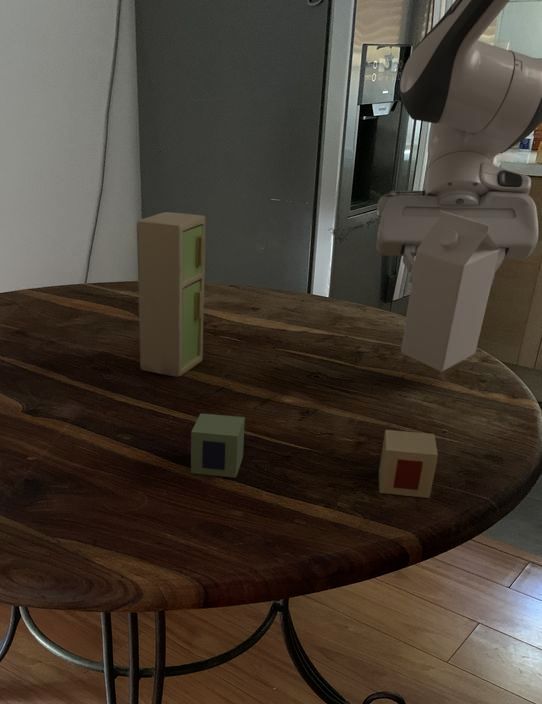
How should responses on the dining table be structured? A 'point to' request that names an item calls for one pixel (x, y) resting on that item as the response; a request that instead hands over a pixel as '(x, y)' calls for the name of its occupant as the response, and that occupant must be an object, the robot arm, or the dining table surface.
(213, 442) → the sage letter block
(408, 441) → the cream letter block
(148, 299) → the toy refrigerator
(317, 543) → the dining table surface
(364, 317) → the dining table surface
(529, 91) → the robot arm
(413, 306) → the milk carton
